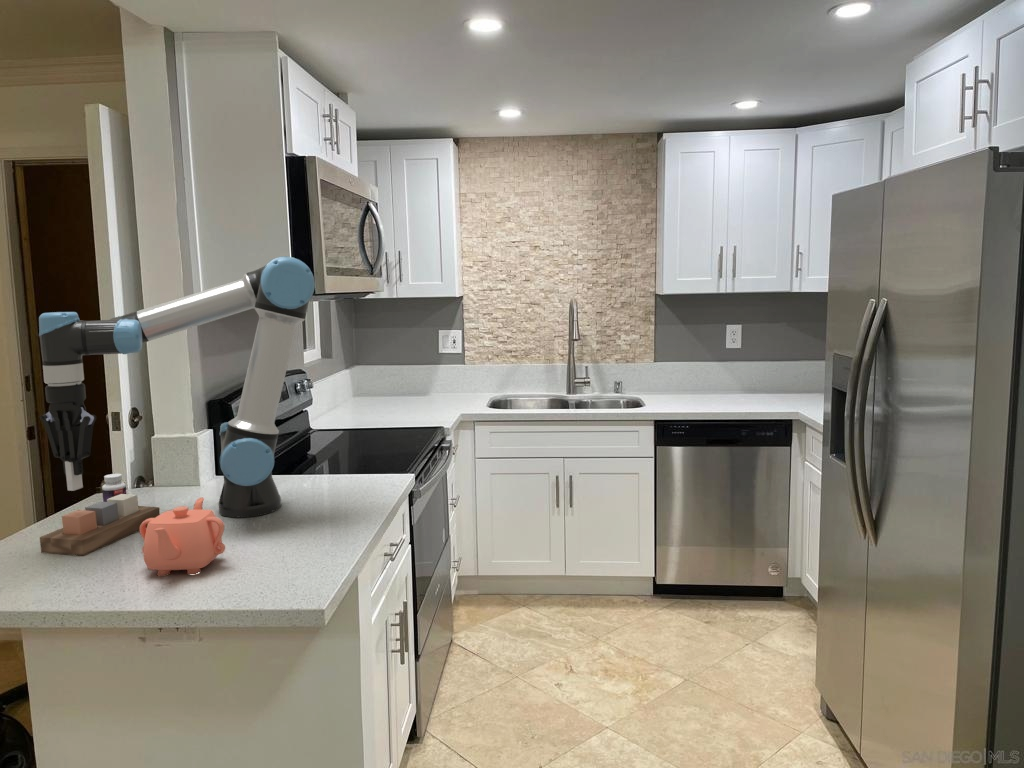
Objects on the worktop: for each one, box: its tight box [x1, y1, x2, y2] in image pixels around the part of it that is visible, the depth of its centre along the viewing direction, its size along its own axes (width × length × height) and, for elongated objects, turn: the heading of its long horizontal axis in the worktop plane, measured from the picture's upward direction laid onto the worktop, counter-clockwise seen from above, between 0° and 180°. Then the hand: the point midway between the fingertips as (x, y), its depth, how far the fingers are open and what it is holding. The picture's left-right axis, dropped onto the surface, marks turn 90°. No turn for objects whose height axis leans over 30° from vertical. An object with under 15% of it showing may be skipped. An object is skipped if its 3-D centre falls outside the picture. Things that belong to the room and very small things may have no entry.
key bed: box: [39, 505, 161, 557], centre depth 175 cm, size 11×24×4 cm, turn 166°
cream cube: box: [107, 493, 139, 517], centre depth 181 cm, size 5×5×5 cm
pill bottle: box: [101, 473, 127, 502], centre depth 193 cm, size 5×5×10 cm
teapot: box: [139, 497, 226, 577], centre depth 154 cm, size 15×17×13 cm
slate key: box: [84, 501, 119, 526], centre depth 175 cm, size 5×5×5 cm
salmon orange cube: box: [61, 509, 97, 535], centre depth 168 cm, size 5×5×5 cm
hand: (75, 488), depth 167 cm, fingers closed
